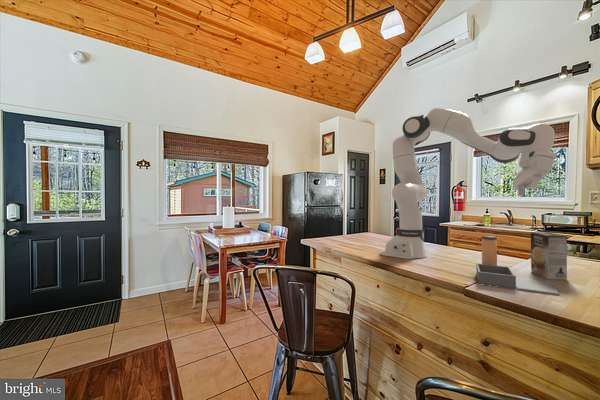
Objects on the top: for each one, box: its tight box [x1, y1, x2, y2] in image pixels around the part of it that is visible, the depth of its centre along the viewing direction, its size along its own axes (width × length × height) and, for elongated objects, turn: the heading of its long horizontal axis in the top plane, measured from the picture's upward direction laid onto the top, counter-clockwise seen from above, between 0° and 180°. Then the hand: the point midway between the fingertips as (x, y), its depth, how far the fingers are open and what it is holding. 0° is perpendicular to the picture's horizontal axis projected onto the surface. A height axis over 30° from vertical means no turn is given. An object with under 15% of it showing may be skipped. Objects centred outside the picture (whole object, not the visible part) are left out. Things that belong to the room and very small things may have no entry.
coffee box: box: [530, 231, 568, 280], centre depth 94 cm, size 9×6×16 cm
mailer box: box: [475, 263, 560, 296], centre depth 87 cm, size 20×12×4 cm, turn 57°
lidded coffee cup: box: [480, 235, 498, 266], centre depth 103 cm, size 5×5×14 cm
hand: (526, 192), depth 98 cm, fingers open, 8 cm apart
